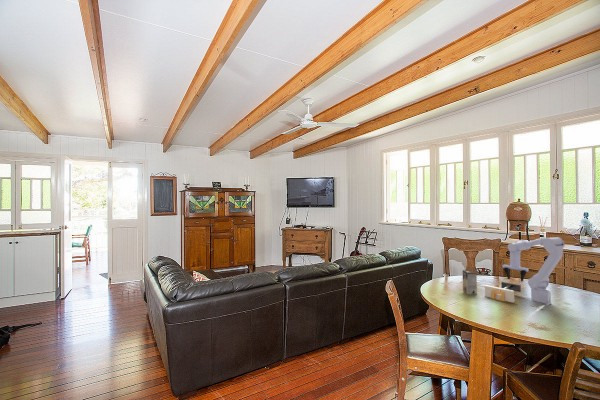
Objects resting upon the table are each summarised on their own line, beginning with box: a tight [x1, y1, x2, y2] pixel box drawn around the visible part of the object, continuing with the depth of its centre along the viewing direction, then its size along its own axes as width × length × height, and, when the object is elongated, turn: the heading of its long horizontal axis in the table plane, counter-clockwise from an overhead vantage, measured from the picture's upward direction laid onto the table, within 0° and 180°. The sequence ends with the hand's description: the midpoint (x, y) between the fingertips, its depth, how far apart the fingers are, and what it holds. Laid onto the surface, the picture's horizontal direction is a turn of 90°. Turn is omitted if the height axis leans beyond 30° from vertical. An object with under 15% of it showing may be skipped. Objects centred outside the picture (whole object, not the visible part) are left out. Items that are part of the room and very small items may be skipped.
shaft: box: [500, 281, 522, 293], centre depth 195 cm, size 11×18×4 cm, turn 126°
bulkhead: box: [484, 284, 515, 304], centre depth 188 cm, size 16×2×9 cm, turn 36°
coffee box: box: [462, 269, 478, 295], centre depth 202 cm, size 9×6×16 cm
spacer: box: [491, 290, 506, 302], centre depth 187 cm, size 7×2×7 cm, turn 36°
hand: (515, 280), depth 200 cm, fingers open, 7 cm apart
